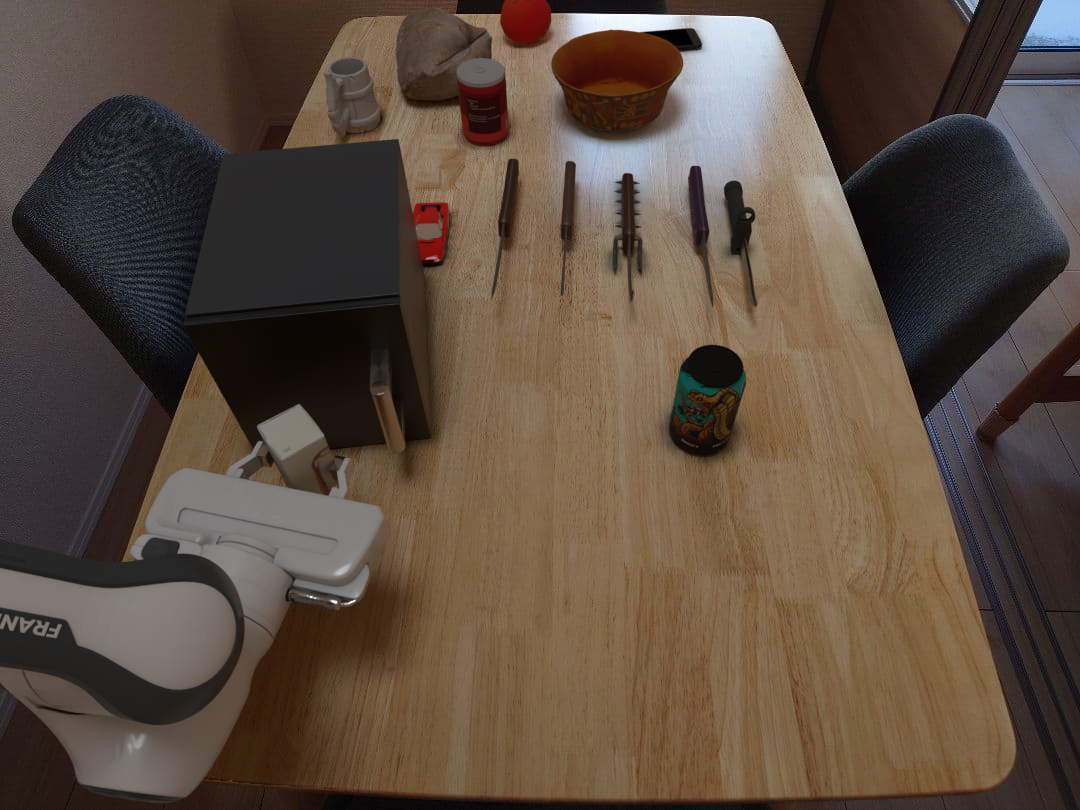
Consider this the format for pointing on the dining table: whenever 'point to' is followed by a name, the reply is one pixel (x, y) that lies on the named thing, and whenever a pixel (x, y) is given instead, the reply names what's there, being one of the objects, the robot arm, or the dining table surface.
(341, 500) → the robot arm
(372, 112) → the mug
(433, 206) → the toy car
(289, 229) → the cupboard
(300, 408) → the white carton box
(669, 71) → the bowl
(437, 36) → the rock
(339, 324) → the cupboard door
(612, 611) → the dining table surface
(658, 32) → the smartphone
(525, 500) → the dining table surface
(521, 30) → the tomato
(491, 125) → the canned food
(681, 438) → the beverage can
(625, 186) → the knife set
